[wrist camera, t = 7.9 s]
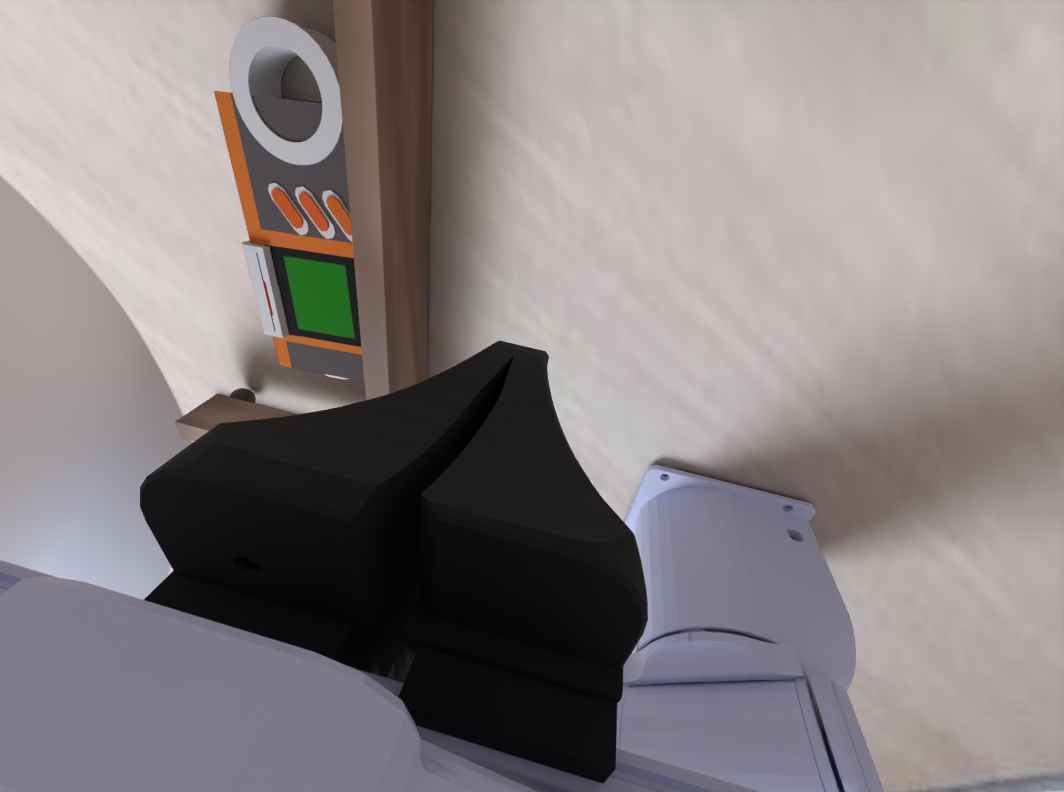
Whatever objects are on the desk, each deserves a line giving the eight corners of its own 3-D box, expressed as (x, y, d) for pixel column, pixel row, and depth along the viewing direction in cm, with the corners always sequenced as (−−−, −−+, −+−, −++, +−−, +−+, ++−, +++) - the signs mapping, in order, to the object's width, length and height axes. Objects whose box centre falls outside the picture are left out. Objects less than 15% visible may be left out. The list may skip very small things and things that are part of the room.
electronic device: (348, 20, 15) (385, 395, 22) (390, 39, 17) (410, 370, 25) (175, 6, 15) (269, 373, 23) (238, 26, 18) (304, 351, 26)
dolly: (433, -38, 15) (366, -90, 11) (425, 446, 27) (393, 497, 24) (94, -95, 16) (-72, -160, 12) (239, 398, 28) (180, 440, 25)
